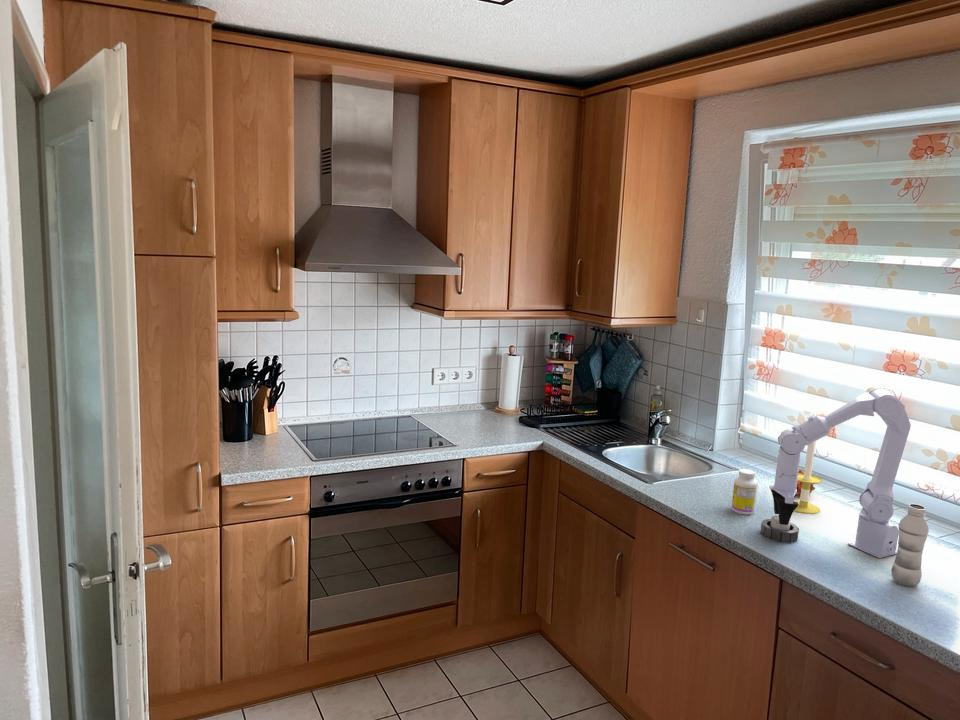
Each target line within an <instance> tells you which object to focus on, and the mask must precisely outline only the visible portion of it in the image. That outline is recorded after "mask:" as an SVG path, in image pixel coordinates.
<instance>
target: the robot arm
mask: <svg viewBox="0 0 960 720" xmlns="http://www.w3.org/2000/svg"><path fill="white" fill-rule="evenodd" d="M875 413H876V414H877V415H878V416H879V417H880V418H881V420H882V421H883V422H884V424H886V430H885V433H884V437H883V440H882V443H881V446H880V450H879V454H878V456H877V457H878V458H877V460H876V463H875V466H874V467H875V468H874V471H873V474H872V478H871V480H870V481H869V482H868V483H867V484H866V487H865V489H864V490H863V491H862V492H861V493H860V495H859V498H858V499H859V500H858V502H859V504H860V506H861V510H860V511H859V513H858V522H857V528H856V534H855V540H853V541H849V542H847V545H848V546H851V547H854V548H855V549H858V550H860V551H862V552H865V553H867V554H869V555H871V556H873V557H875V558H878V559H881V558H884V557H889V556H892V555H896V554H897V547H898V540H899V527H898V526H896V525H895V524H893V523H892V522H891V521H890V519H891V518H892V517H893V515H894V506H893V501H894V492H893V487H894V483H895V480H896V477H897V473H898V470H899V466H900V465H901V461H902V458H903V453H904V450H905V446H906V443H907V441H908V436H909V433H910V431H911V426H912V425H911V424H912V423H911V421H910V419H909V417H908V414H907V411H906V405H905V404H904V403H903V402H902V401H901V400H900V399H899V398H898V397H897V396H896V395H893V394H892V393H891V392H889V391H888V390H887V389H885V388H881V387H877V388H876V387H875V388H873V389H871V390H870V391H869V392H864V393H862V394H860V395H859V396H857V397H856V398H854V399H853V400H851V401H849V402H848V403H846V404H844V405H841V407H839V408H837V409H836V410H834V411H833V412H830V413H829V414H828V415H825V416H818V415H816V416H811V415H810V416H809V417H807V420H806V421H804V422H803V423H799V425H797V426H796V425H793V426H791V429H789V428H788V429H784V430H783V431H781V432H780V434H779V436H777V442H778V444H779V449H778V454H777V460H776V466H775V467H776V468H775V476H774V483H773V484H774V485H772V484H770V485H769V489H770V491H771V495H772V499H773V500H772V501H773V512H774V514H775V515H778V516H779V523H780V524H783V525H788V523H789V521H790V522H791V517H792V516H793V513H794V512H795V511H794V510H795V509H796V508H797V507H798V502H793V501H795V497H796V496H795V494H796V493H797V489H796V487H797V479H798V471H799V469H800V462H801V458H800V457H801V453H802V452H803V451H804V449H805V446H808V445H809V444H811V443H813V442H815V441H816V442H817V441H818V440H819V439H822V438H824V437H826V436H828V435H829V434H830V432H831V429H832V428H835V426H838V425H840V424H842V423H845V422H846V421H849V420H851V419H854V418H856V417H857V416H867V417H875Z"/></svg>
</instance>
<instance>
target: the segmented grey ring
mask: <svg viewBox="0 0 960 720" xmlns="http://www.w3.org/2000/svg"><path fill="white" fill-rule="evenodd" d="M770 525H771V518H767V519H763V520H762V521H761V525H760V531H759V532H760V534H761V536H762V537H763V538H765V539H767V538H768V540H770V541H771V542H772V541H773V542H776V543H781V544H792V543H796V542H797V541H798V540H799V533H800V528H799V527H798V525H796V524H794V523H792V522H790V529H789V531H781V530H777V529H774V528H772V527H770Z"/></svg>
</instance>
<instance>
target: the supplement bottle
mask: <svg viewBox="0 0 960 720" xmlns="http://www.w3.org/2000/svg"><path fill="white" fill-rule="evenodd" d="M755 477H756V471H754V470H752V469H748V468H741V469H738V476H737V477H736V478H735V479H734V483H733V491H732V499H731V500H732V501H731V510H732V511H733V512H735V513H736V514H740V515H747V516H748V515H753V514H754V513H755V509H756V500H757V492H758V481H757V480H756V479H755Z"/></svg>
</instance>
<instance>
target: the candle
mask: <svg viewBox="0 0 960 720" xmlns="http://www.w3.org/2000/svg"><path fill="white" fill-rule="evenodd" d="M816 443H817V441H815V442H813V443H811V444H809V445H807V447H806V448H807V449H806V454H805V455H806V456H805V463H804V470H803V471H804V472H803V473H804V474H800V473H799V474H798V479H797V481H800V482H802V488H801V495H799V496H800V497H799V501H797V500H793V502H798V507H797V508H796V509H795V510H794V512H797V513H800V514H806V515H807V514H808V515H815V514H817V513H818V514H819V512H820V513H821V508H820V507H819V506H817V505H815V504H813V503H809V499H810V494H811V493H810V486H811V484H813V485H817V484H821V483H822V482H823V479H821V478H820V477H819V476H815V475H814V474H813V475H812V471H813V465H814V458H815V449H816ZM809 493H810V494H809Z"/></svg>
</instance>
